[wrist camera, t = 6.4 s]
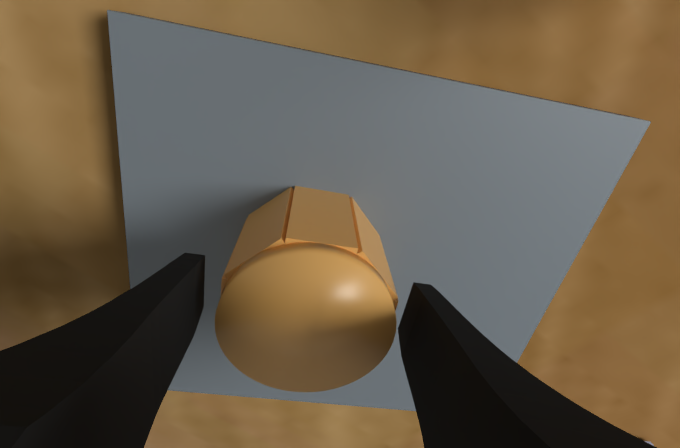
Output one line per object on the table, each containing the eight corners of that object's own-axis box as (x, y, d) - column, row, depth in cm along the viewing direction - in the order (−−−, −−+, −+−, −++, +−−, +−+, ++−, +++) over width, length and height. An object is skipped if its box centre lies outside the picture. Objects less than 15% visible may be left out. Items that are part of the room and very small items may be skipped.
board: (629, 116, 14) (651, 121, 13) (479, 400, 21) (486, 417, 20) (123, 12, 11) (107, 9, 11) (147, 370, 18) (138, 387, 18)
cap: (390, 201, 14) (418, 268, 10) (360, 308, 16) (373, 399, 12) (250, 178, 13) (219, 239, 9) (239, 293, 15) (211, 383, 11)
